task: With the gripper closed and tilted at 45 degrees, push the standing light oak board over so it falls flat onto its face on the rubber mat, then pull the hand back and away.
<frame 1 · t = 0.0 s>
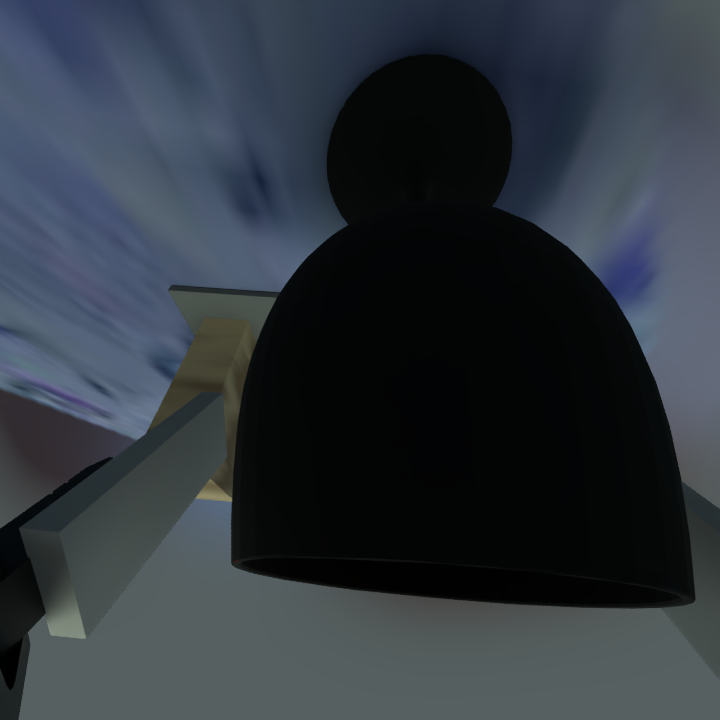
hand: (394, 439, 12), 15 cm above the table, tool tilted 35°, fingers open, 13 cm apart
wine glass: (415, 170, 19), on the table
rubber mat: (300, 353, 34), on the table
oak board: (241, 353, 34), point 1 cm above the table, touching rubber mat
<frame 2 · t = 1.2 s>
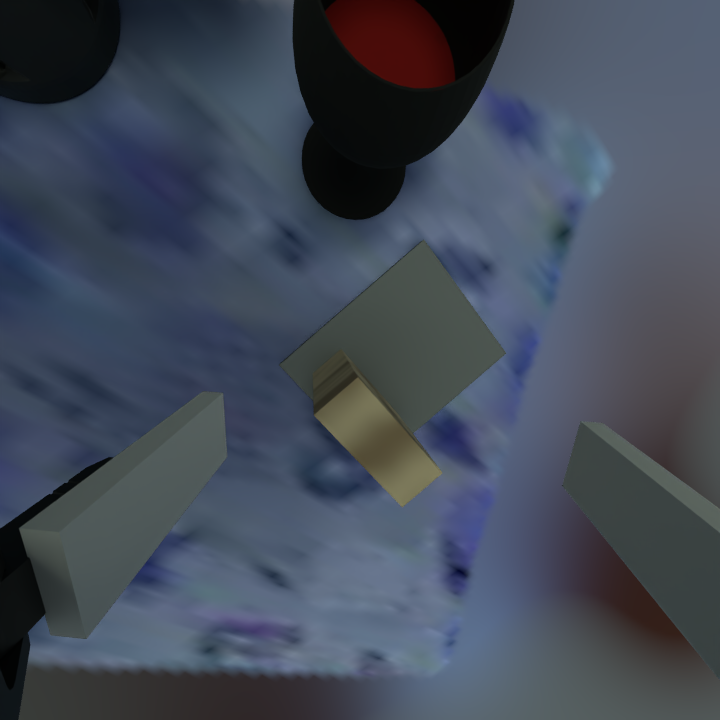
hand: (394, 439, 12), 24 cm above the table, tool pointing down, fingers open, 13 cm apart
wine glass: (354, 165, 33), on the table
rubber mat: (396, 358, 37), on the table
oak board: (356, 394, 36), point 1 cm above the table, touching rubber mat
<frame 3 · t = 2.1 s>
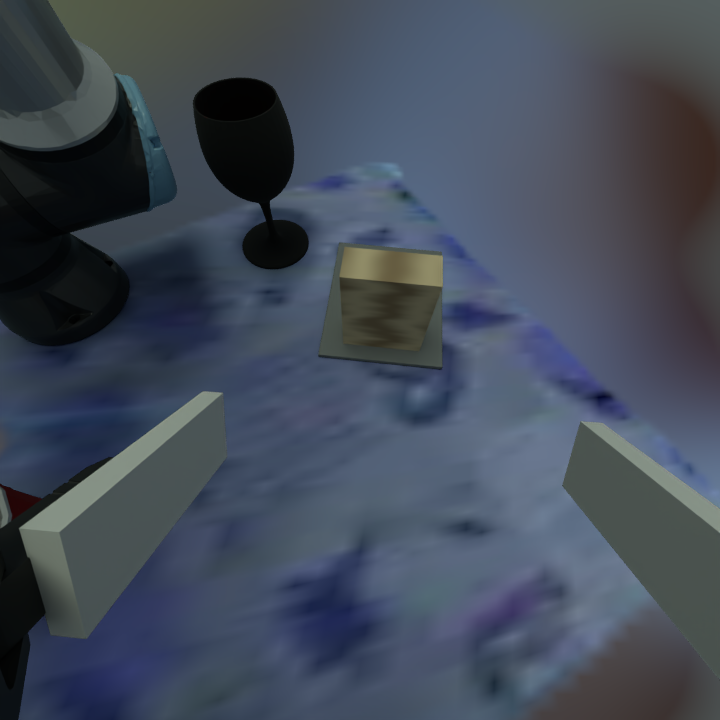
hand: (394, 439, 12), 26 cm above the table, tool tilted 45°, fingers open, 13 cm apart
plastic cup: (56, 542, 34), on the table
wine glass: (276, 245, 53), on the table
rubber mat: (385, 301, 48), on the table
oak board: (382, 334, 44), point 1 cm above the table, touching rubber mat
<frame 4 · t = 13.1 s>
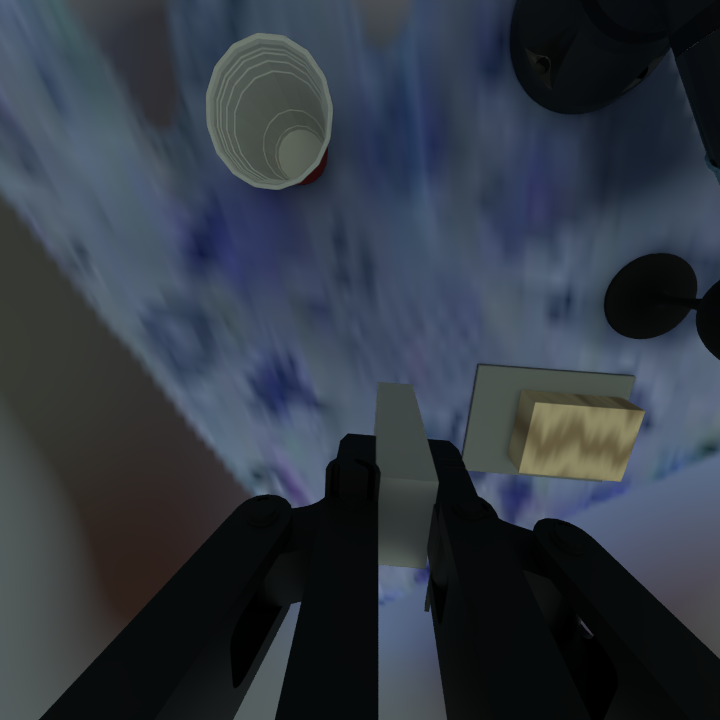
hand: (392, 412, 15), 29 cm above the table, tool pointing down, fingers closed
plastic cup: (300, 158, 38), on the table
wine glass: (647, 297, 41), on the table
rubber mat: (541, 424, 46), on the table
oak board: (520, 431, 44), point 3 cm above the table, tilted 90°, touching rubber mat
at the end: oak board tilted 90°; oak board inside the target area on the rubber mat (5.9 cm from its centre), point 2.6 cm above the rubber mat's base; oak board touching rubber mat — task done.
